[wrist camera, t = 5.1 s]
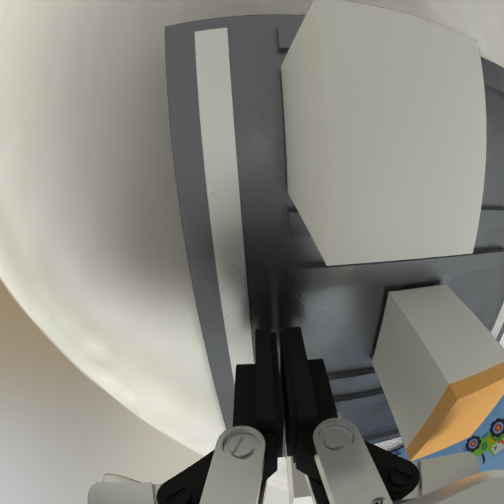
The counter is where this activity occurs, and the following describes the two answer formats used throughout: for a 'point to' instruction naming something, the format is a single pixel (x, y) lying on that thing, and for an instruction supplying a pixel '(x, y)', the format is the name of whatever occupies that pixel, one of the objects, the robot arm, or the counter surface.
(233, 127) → the panel
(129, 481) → the bottle
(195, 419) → the counter surface
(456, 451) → the lunch bag
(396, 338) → the block
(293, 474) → the block
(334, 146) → the block
